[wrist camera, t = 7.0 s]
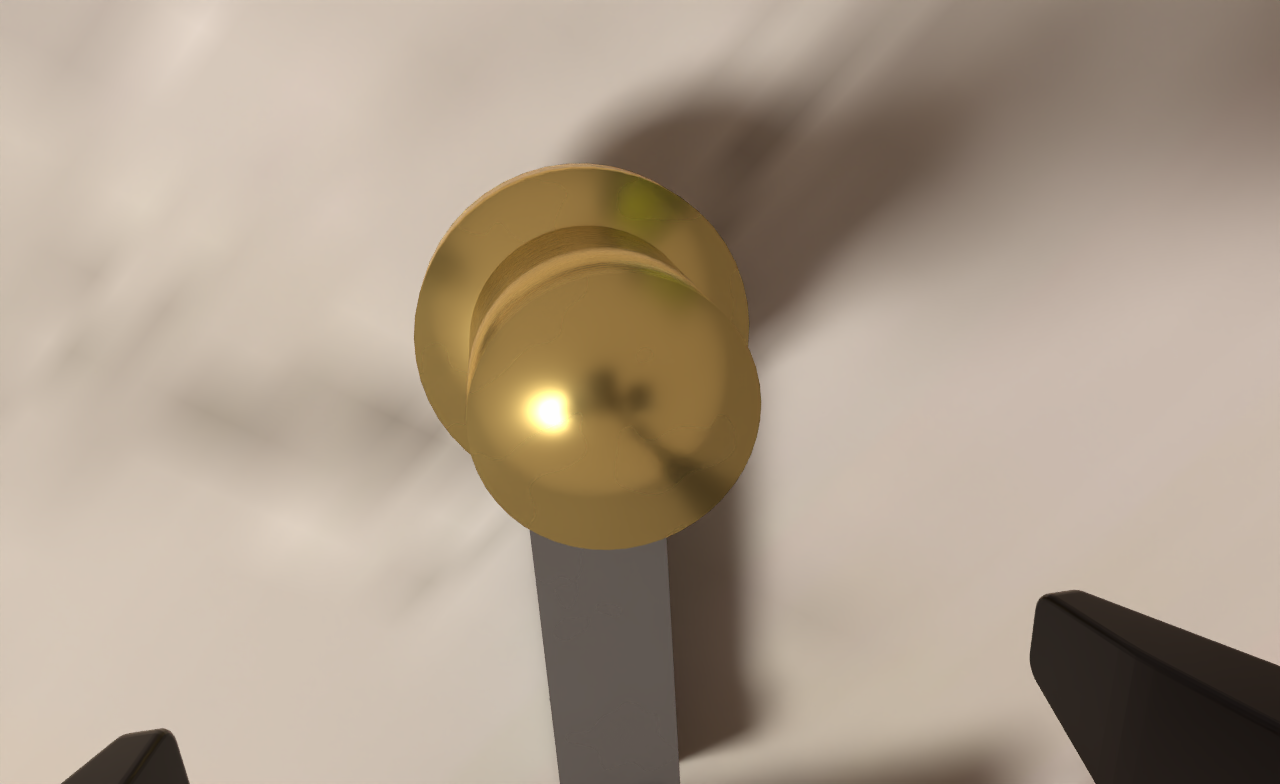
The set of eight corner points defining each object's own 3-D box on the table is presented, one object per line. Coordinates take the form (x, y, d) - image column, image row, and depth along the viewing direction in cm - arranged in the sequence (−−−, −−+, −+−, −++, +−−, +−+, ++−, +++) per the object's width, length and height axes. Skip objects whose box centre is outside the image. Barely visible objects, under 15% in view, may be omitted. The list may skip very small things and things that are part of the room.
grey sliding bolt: (717, 766, 26) (812, 1043, 19) (503, 805, 25) (513, 1112, 18) (696, 139, 19) (828, 180, 12) (406, 161, 19) (357, 221, 11)
